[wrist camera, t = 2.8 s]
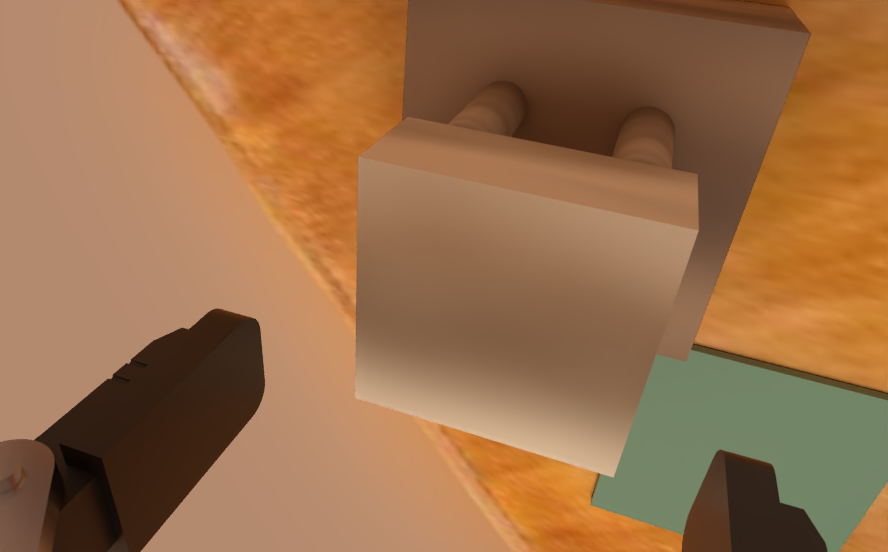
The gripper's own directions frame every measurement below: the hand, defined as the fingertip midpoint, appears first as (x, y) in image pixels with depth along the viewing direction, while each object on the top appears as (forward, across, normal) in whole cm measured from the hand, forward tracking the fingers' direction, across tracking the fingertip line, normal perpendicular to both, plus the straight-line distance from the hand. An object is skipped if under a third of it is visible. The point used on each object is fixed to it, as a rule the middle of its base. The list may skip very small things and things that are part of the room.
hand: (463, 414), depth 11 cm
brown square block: (+14, 0, 0) cm, 14 cm away
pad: (+14, -9, +12) cm, 20 cm away
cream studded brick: (+10, 0, 0) cm, 10 cm away
